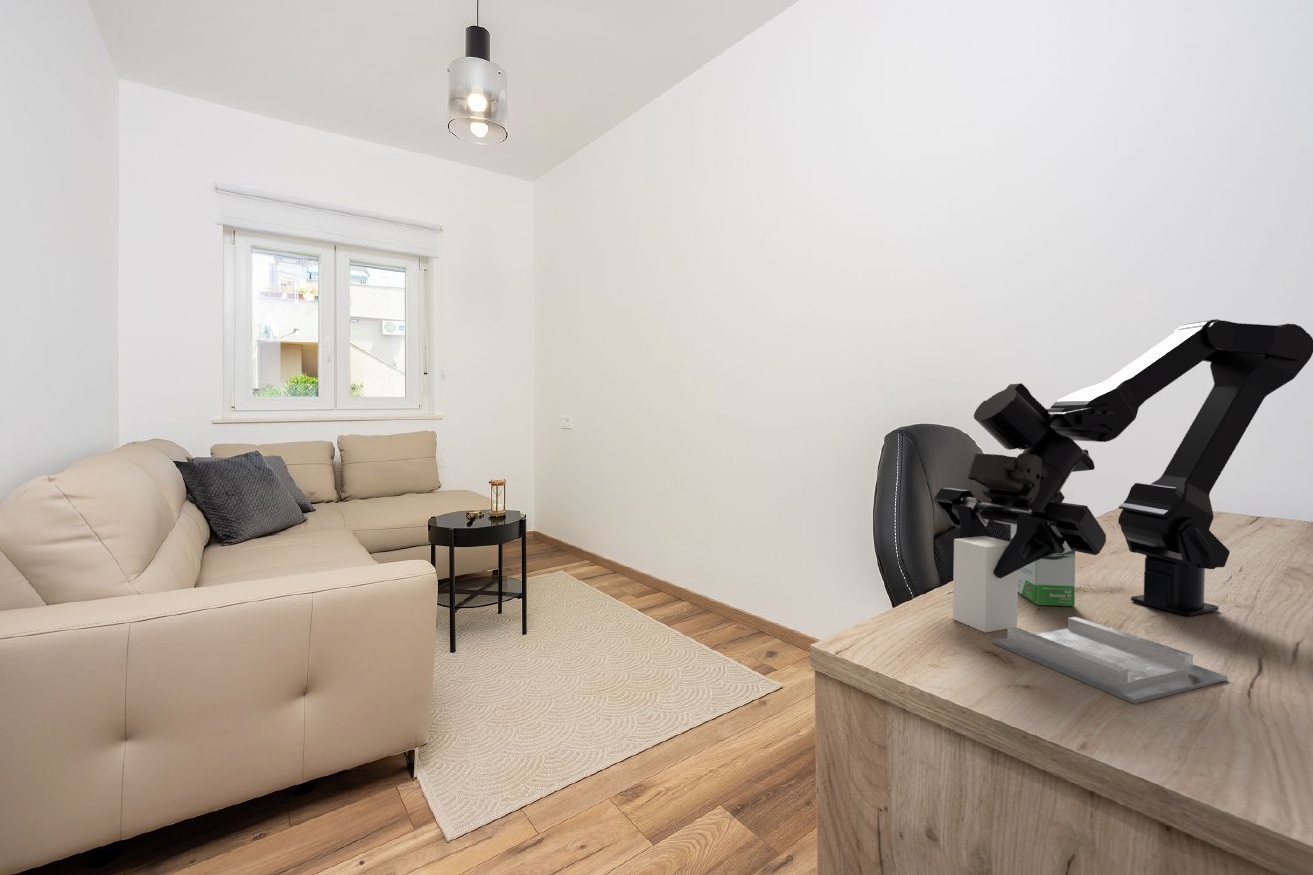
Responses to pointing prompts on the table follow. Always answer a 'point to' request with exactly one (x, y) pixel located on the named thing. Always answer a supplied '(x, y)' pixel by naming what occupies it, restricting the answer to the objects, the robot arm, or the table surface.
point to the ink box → (1049, 578)
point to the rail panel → (1111, 660)
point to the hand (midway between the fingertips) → (976, 570)
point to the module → (983, 585)
